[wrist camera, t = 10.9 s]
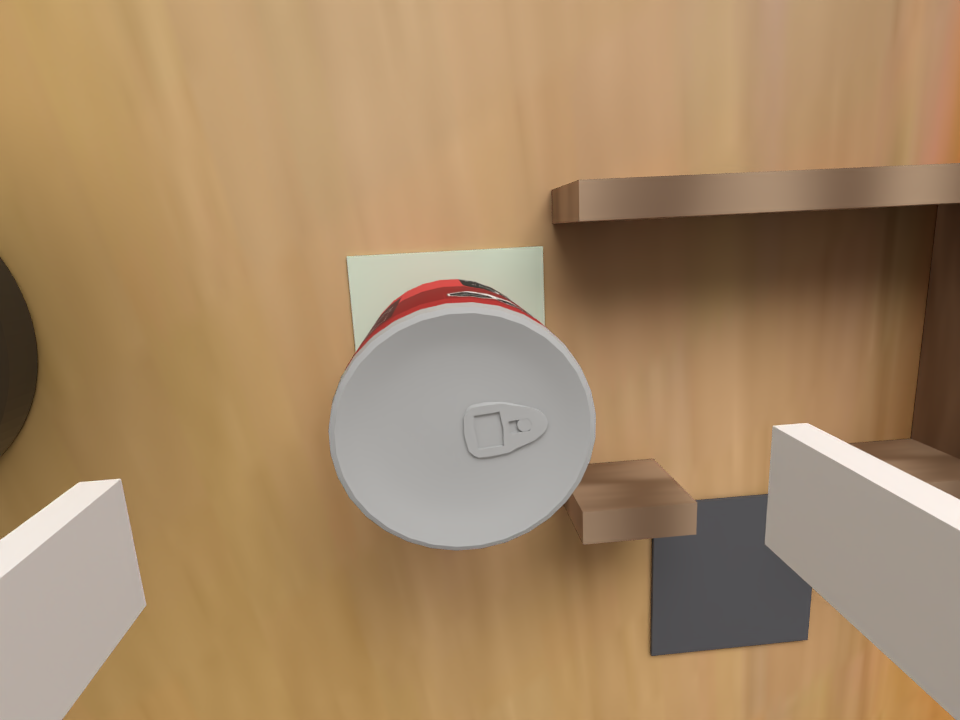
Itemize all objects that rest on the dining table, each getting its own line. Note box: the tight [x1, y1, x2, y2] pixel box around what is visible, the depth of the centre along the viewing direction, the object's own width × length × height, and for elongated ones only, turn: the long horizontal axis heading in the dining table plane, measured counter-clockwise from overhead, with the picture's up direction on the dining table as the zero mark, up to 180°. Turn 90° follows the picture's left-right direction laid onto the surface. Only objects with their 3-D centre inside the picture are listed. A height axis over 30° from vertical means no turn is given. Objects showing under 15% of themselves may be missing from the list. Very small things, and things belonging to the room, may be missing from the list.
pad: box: [347, 246, 545, 351], centre depth 28 cm, size 9×10×1 cm
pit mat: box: [651, 494, 812, 656], centre depth 31 cm, size 9×9×1 cm
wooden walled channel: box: [552, 163, 960, 544], centre depth 26 cm, size 20×15×5 cm
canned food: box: [329, 279, 596, 550], centre depth 22 cm, size 8×8×11 cm
